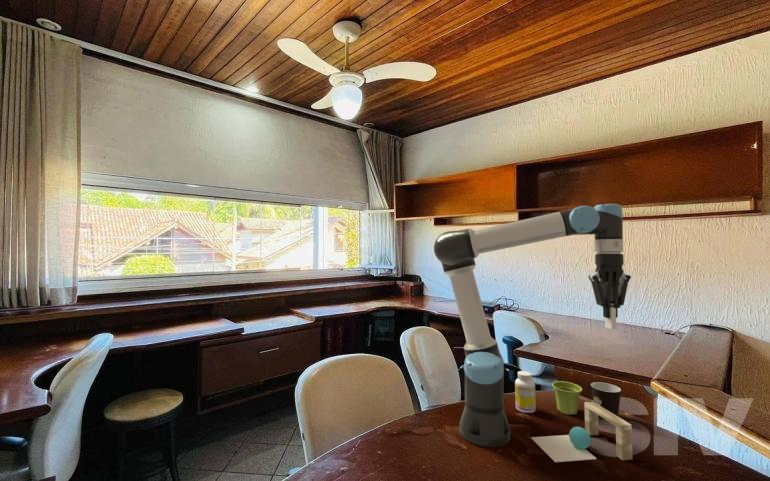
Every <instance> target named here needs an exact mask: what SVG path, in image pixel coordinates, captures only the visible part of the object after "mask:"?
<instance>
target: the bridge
mask: <svg viewBox="0 0 770 481" xmlns="http://www.w3.org/2000/svg"><path fill="white" fill-rule="evenodd" d="M583 407H584V429H585V430H586V431H587V432H588V433H589V435H590V436H599V432H600V431H599V418H598V415H599V416H601V417H602V418H604V419H605V420H604V421H606V420H607V422H608V423H610V424H612V425H613V426H614V427H615V443H616V444H615V446H616V447H615V448H616V451H615V452H616V457H617V458H619V459H620V460H621V461H630V460H633V459H634V458H633V435H632V434H633V433H632V432H633V431H632V430H633V429H632V427H633V426H632V424H631V423H629V422H627V420H624V419H623V418H621V417H620V416H619V415H618V416H616V415H614V414H613V413H611V412H609V411H608V410H606V409H605V408H603V407H601V406H600V405H598V404H596V403H595V402H594V401H584V406H583Z"/></svg>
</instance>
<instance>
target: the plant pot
mask: <svg viewBox="0 0 770 481" xmlns="http://www.w3.org/2000/svg"><path fill="white" fill-rule="evenodd" d="M551 386H552V388H553V391H554V393H555V400H556V408H557V410H558V411H559V412H560V413H562V414H564V415H568V416H569V415H577V413H578V408H579V401H580V395H581V393H582V391H583V388H582V387H581V386H580V385H578V384H575V383H573V382H569V381H563V380H562V381H561V380H559V381H554V382H552V384H551Z"/></svg>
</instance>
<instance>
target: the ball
mask: <svg viewBox="0 0 770 481" xmlns="http://www.w3.org/2000/svg"><path fill="white" fill-rule="evenodd" d="M568 435H569V438H570V441H571V442H572V444H573V445H574V446H576V447H578V448H580V449H587V448H589V447H590V445H591V444H592V438H591V435H589V433H588V432H587V431H586V430H585V427H584V428H583V427H581V426H573V427H572V428H571V429H570V430H569V433H568Z"/></svg>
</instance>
